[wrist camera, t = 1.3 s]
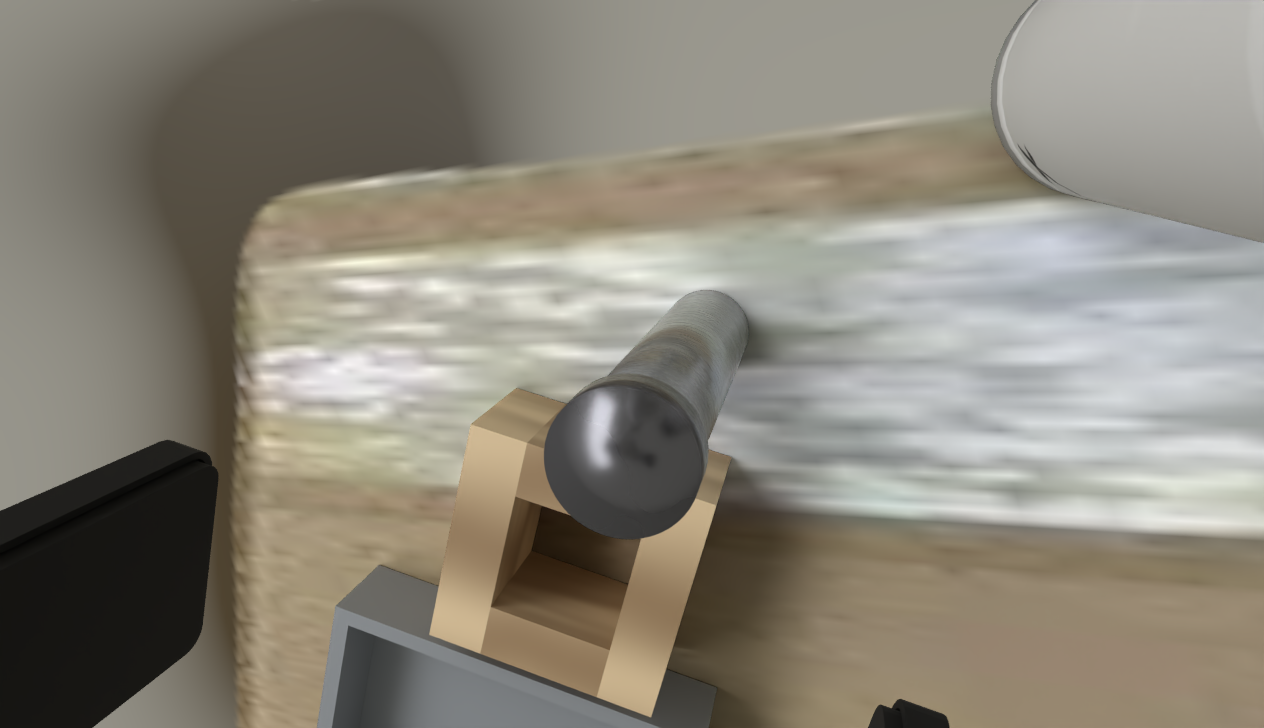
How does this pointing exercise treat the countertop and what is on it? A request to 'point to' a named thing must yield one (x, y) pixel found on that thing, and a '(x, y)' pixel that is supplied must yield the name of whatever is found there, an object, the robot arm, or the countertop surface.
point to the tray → (460, 675)
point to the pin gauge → (648, 422)
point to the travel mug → (1140, 106)
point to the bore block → (559, 570)
